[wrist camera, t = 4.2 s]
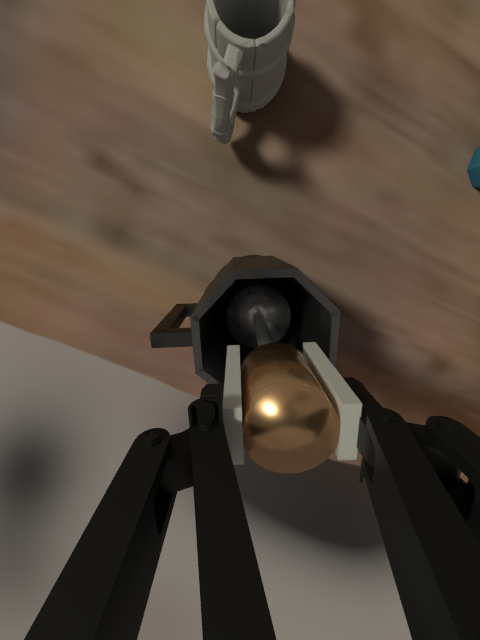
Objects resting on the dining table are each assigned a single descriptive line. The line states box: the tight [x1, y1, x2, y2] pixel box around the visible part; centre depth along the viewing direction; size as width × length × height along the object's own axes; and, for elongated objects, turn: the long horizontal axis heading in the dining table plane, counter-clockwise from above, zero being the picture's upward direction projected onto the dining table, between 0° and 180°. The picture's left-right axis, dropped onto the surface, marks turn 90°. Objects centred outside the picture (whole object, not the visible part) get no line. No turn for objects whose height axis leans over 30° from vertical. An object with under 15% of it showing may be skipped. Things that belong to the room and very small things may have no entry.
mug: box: [204, 0, 296, 144], centre depth 23 cm, size 8×12×12 cm, turn 160°
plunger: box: [226, 285, 340, 473], centre depth 19 cm, size 6×6×17 cm
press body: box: [150, 255, 341, 384], centre depth 28 cm, size 15×11×15 cm
